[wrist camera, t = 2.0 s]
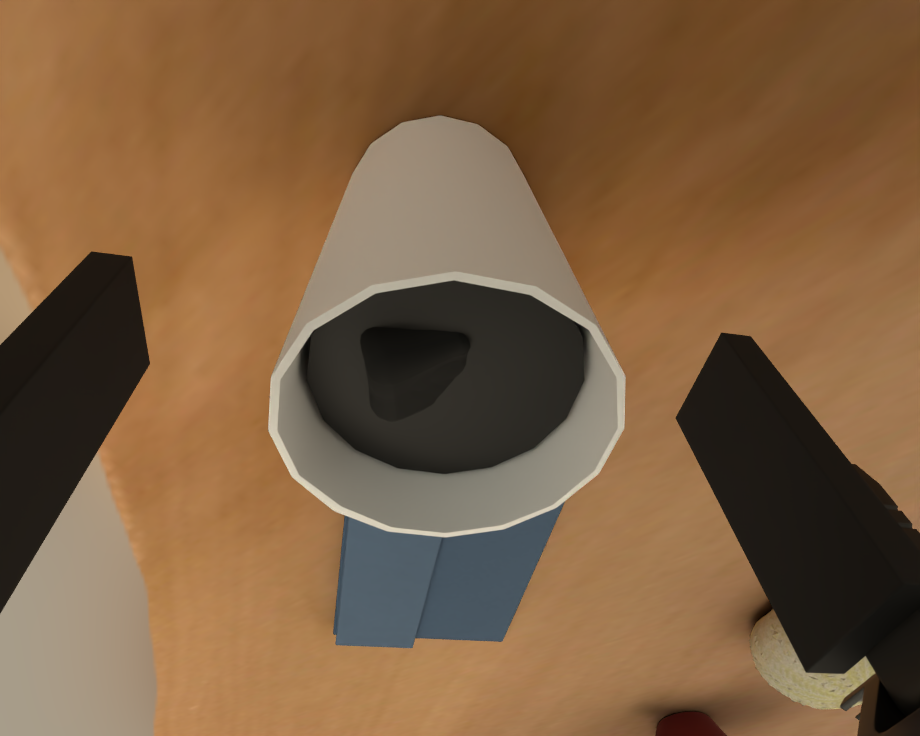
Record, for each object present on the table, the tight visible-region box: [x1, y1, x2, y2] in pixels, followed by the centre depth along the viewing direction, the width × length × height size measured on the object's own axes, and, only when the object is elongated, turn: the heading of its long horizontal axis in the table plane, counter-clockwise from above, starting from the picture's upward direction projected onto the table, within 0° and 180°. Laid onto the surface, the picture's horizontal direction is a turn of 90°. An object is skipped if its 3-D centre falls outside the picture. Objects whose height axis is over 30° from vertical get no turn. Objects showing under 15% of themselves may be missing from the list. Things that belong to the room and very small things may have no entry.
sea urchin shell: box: [749, 609, 875, 709], centre depth 35 cm, size 9×8×8 cm
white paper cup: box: [268, 115, 625, 537], centre depth 15 cm, size 7×7×10 cm
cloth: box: [333, 501, 565, 648], centre depth 28 cm, size 20×10×1 cm, turn 170°
